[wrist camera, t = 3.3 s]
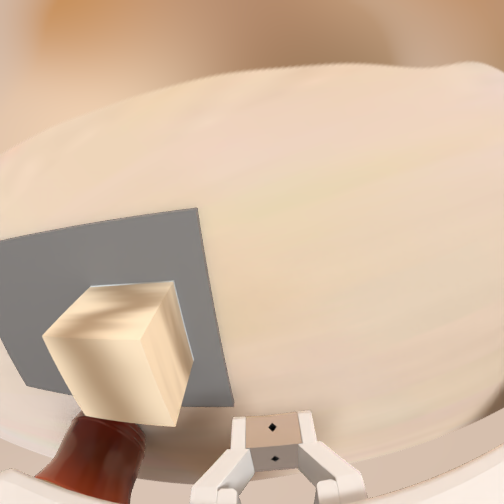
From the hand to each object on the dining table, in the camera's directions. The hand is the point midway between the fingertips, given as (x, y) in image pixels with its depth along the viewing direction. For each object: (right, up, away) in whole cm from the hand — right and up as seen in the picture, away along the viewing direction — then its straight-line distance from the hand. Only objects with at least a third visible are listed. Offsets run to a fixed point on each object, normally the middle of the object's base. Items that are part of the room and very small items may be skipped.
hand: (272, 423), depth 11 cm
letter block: (-8, +2, +8) cm, 12 cm away
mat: (-14, +1, +9) cm, 17 cm away
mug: (-16, -11, +14) cm, 24 cm away
